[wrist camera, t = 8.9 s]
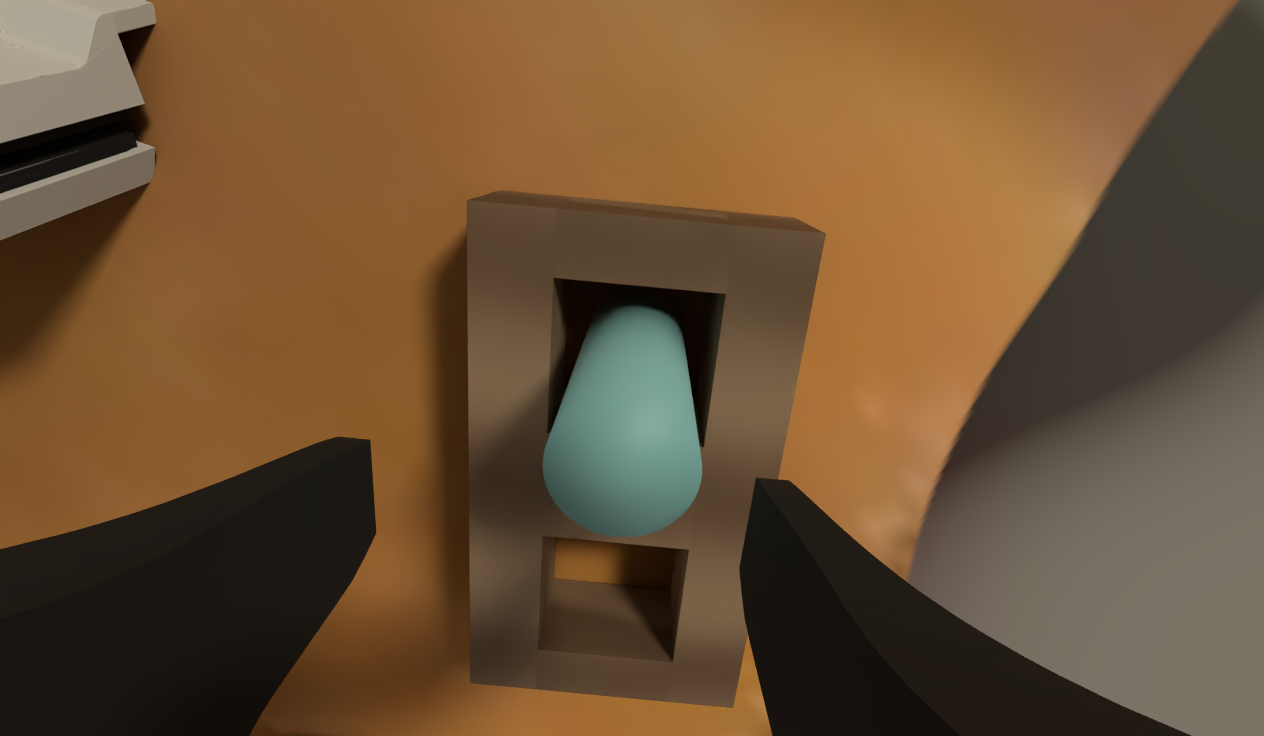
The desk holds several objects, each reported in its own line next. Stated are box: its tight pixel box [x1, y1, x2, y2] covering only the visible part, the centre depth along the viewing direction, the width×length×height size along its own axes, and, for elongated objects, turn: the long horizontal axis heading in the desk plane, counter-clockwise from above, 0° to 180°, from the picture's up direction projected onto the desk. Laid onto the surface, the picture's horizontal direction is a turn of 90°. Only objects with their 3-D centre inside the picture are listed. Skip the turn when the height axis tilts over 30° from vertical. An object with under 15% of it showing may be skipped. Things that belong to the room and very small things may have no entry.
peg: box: [543, 287, 702, 537], centre depth 16 cm, size 3×3×9 cm
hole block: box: [467, 191, 826, 708], centre depth 20 cm, size 16×9×4 cm, turn 175°
